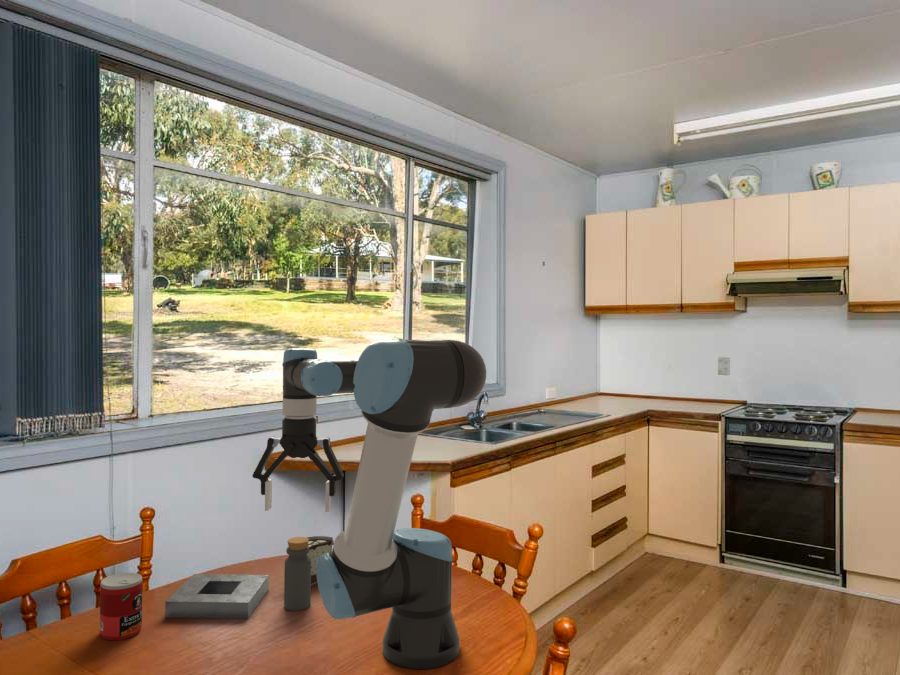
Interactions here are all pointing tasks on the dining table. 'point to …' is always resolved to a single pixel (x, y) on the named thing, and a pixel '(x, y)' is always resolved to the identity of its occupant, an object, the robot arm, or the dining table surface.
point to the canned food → (120, 606)
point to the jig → (217, 596)
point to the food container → (318, 551)
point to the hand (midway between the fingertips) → (298, 509)
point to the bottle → (297, 575)
